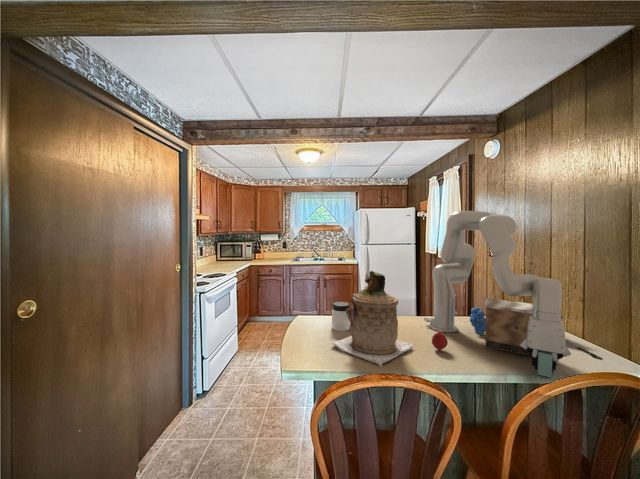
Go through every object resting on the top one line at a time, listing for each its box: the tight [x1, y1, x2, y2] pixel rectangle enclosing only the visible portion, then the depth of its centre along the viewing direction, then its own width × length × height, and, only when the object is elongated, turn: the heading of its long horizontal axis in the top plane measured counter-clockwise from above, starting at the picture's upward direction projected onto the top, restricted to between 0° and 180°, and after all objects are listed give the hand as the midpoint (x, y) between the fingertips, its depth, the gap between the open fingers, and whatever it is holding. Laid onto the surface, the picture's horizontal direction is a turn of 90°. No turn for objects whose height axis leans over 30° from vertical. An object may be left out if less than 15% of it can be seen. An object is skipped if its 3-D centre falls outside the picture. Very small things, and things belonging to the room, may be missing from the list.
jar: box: [331, 301, 351, 332], centre depth 141 cm, size 9×8×12 cm
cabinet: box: [484, 298, 533, 357], centre depth 116 cm, size 18×14×19 cm
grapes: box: [469, 306, 486, 335], centre depth 137 cm, size 12×7×12 cm, turn 4°
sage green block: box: [536, 350, 553, 378], centre depth 103 cm, size 4×18×7 cm, turn 148°
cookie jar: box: [331, 270, 414, 367], centre depth 118 cm, size 25×25×32 cm
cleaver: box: [565, 339, 604, 361], centre depth 125 cm, size 29×1×10 cm
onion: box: [431, 331, 448, 351], centre depth 117 cm, size 6×6×8 cm
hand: (543, 369), depth 98 cm, fingers closed on sage green block, 3 cm apart
